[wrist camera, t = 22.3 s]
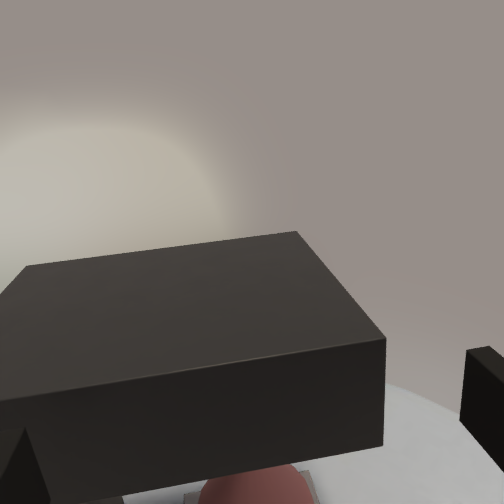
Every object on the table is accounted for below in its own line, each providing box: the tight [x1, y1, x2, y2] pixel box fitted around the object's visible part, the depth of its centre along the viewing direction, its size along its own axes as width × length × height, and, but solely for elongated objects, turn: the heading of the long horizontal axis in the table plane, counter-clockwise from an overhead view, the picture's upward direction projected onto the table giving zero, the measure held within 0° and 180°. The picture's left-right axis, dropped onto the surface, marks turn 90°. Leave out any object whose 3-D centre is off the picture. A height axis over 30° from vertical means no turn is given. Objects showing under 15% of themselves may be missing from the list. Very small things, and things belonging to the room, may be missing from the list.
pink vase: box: [198, 464, 314, 504], centre depth 26 cm, size 8×8×12 cm
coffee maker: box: [0, 231, 386, 504], centre depth 24 cm, size 17×13×21 cm
